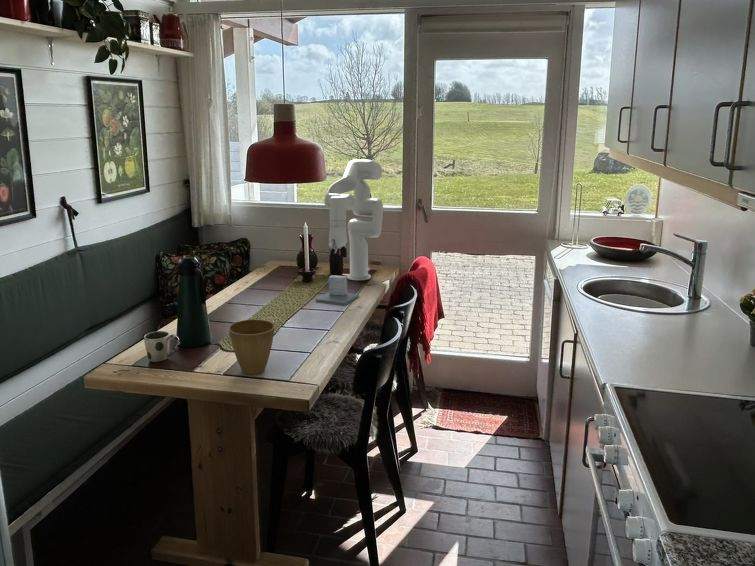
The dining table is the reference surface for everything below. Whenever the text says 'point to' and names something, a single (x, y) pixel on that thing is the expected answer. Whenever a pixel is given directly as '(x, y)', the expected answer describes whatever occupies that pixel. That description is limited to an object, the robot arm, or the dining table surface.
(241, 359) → the plant pot
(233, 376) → the dining table surface
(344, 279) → the medicine box
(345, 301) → the plate
